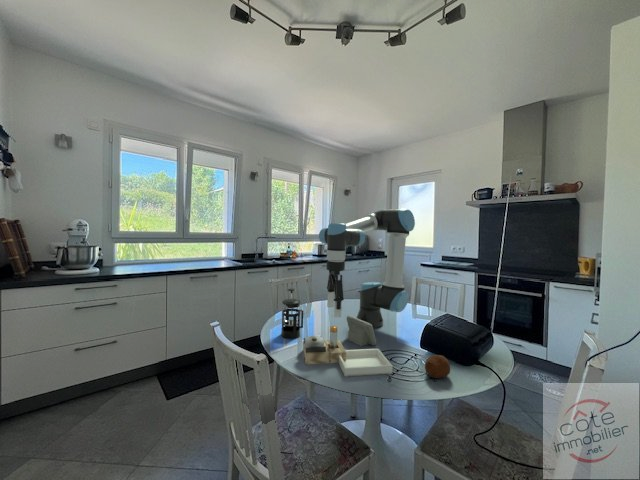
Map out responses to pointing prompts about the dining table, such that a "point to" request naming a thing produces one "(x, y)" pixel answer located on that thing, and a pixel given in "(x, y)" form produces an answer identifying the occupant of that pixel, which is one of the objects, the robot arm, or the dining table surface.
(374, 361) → the tray
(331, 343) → the pin
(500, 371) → the dining table surface
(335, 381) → the dining table surface
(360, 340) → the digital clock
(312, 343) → the wooden holder
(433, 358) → the potato
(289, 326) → the french press
